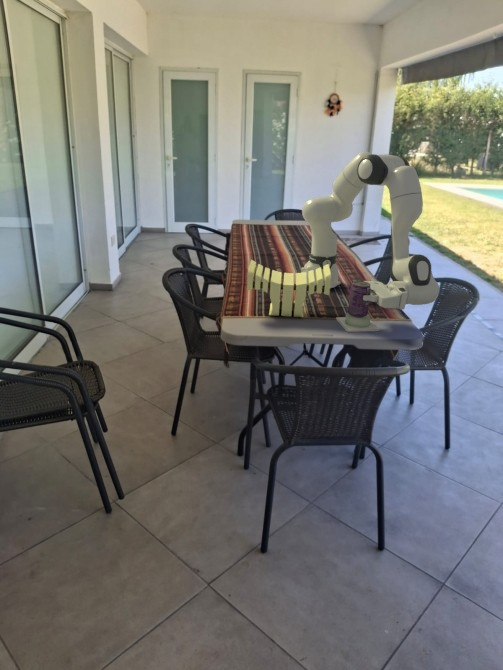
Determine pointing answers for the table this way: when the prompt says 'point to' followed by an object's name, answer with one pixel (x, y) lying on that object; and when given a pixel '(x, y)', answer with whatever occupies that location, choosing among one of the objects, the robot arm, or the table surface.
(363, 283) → the beverage can
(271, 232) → the table surface
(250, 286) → the slatted curved stool
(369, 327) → the pedestal stand
